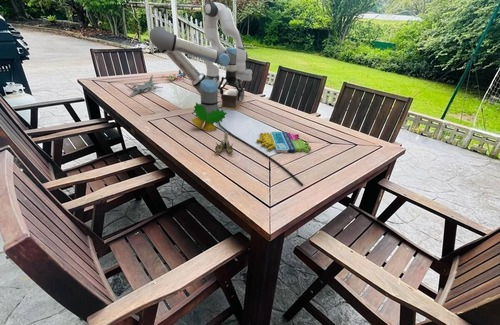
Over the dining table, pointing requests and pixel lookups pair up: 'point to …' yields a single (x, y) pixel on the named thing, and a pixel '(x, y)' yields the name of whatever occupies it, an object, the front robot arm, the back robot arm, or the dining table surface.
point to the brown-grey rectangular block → (231, 99)
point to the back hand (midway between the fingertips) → (239, 85)
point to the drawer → (242, 93)
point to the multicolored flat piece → (283, 142)
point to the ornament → (207, 117)
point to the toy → (175, 76)
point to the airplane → (144, 87)
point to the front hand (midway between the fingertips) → (230, 99)
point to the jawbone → (224, 145)
